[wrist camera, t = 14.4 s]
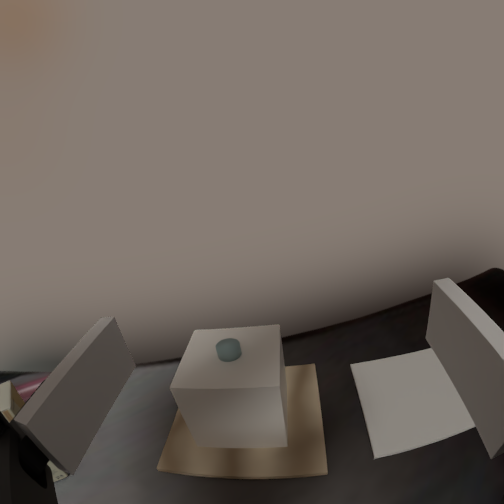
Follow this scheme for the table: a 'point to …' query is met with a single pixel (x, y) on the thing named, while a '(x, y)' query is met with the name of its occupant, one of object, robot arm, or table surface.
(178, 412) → the birch board
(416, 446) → the grey mat
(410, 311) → the table surface
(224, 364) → the dust cover
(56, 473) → the skincare box
